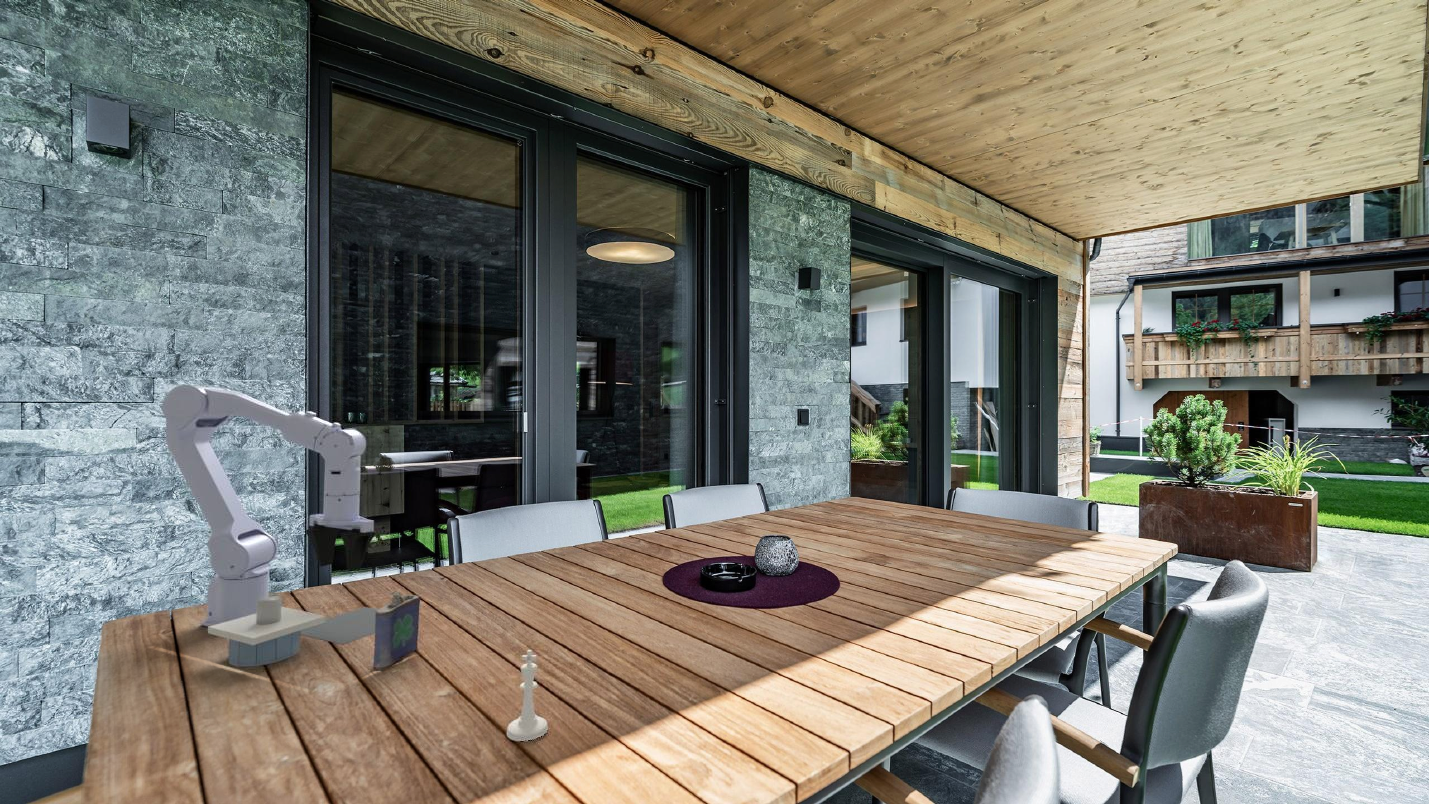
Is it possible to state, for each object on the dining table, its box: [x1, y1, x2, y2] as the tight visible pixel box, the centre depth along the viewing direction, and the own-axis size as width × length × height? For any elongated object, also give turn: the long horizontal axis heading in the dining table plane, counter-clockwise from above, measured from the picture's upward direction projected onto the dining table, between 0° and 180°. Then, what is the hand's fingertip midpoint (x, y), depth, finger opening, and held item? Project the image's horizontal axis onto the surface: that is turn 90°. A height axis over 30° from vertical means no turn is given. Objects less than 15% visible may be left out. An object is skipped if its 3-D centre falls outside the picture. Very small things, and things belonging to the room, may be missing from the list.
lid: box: [207, 595, 327, 645], centre depth 98 cm, size 11×11×4 cm
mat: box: [300, 606, 380, 646], centre depth 112 cm, size 14×15×1 cm
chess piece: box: [506, 649, 549, 742], centre depth 77 cm, size 5×5×10 cm
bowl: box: [228, 630, 301, 668], centre depth 97 cm, size 9×9×4 cm
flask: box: [373, 590, 421, 672], centre depth 98 cm, size 9×3×11 cm, turn 172°
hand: (339, 567), depth 114 cm, fingers open, 7 cm apart
